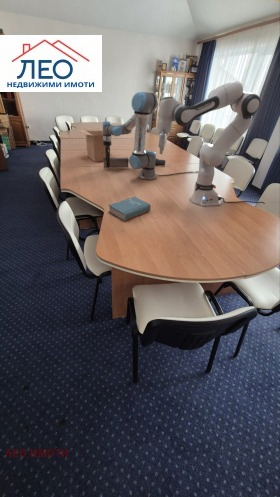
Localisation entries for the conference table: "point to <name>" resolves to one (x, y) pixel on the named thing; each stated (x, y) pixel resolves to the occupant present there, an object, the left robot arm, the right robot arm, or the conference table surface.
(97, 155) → the box
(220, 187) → the conference table surface
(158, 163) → the laser sight
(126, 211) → the book
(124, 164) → the bar
